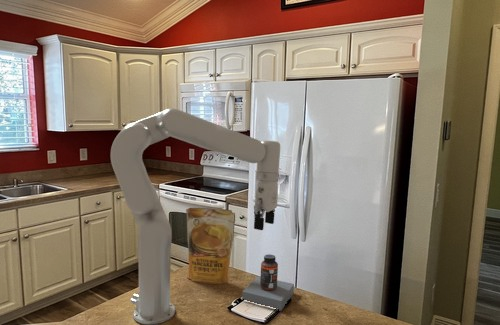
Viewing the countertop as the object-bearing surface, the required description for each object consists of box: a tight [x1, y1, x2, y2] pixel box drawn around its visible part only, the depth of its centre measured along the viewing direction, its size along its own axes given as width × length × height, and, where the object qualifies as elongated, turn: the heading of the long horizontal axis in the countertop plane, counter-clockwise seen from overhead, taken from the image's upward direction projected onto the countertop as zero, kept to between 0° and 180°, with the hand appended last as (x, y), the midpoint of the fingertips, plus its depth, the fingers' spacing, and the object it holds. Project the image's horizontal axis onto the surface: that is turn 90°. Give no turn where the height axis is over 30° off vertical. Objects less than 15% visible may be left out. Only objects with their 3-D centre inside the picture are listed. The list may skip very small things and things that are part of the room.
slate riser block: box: [241, 275, 295, 312], centre depth 119 cm, size 14×14×4 cm
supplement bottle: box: [260, 253, 279, 291], centre depth 118 cm, size 6×6×11 cm
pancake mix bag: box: [185, 207, 236, 285], centre depth 130 cm, size 7×19×28 cm, turn 80°
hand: (264, 226), depth 116 cm, fingers open, 9 cm apart
